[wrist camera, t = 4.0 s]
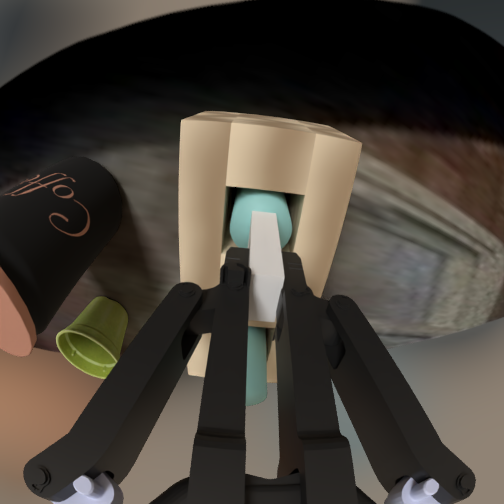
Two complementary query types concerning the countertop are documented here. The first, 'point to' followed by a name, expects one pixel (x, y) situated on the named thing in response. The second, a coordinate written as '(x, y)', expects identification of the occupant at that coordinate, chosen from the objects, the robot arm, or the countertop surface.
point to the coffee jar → (50, 243)
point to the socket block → (265, 178)
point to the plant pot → (95, 337)
